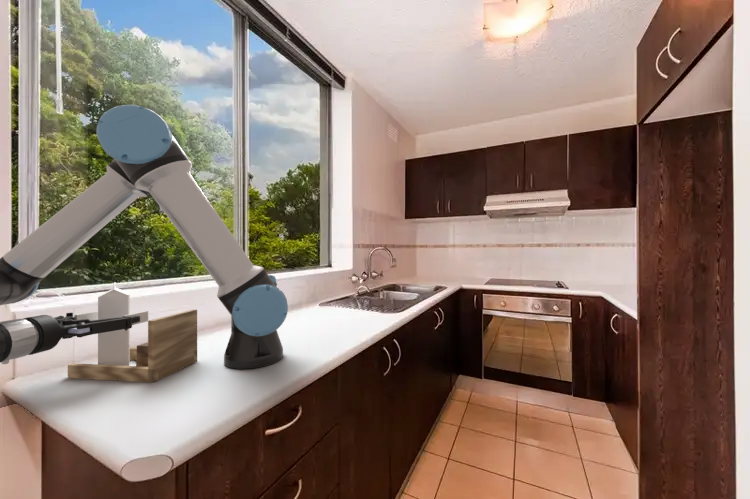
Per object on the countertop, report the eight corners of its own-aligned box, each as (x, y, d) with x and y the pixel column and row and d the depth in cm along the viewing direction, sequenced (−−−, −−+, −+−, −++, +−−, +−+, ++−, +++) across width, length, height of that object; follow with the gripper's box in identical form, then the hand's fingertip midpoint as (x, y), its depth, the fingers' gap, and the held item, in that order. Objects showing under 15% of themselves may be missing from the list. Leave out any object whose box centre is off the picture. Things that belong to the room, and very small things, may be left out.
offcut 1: (173, 349, 80) (173, 339, 80) (152, 356, 74) (152, 346, 74) (158, 348, 81) (158, 339, 81) (136, 356, 75) (136, 345, 75)
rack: (197, 361, 84) (197, 309, 84) (153, 382, 70) (153, 320, 70) (123, 357, 87) (123, 308, 87) (67, 377, 73) (67, 318, 73)
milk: (97, 374, 75) (97, 284, 76) (100, 367, 80) (99, 282, 80) (129, 368, 79) (128, 282, 79) (130, 361, 84) (129, 281, 84)
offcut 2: (175, 357, 81) (175, 347, 81) (156, 367, 74) (156, 356, 74) (156, 357, 81) (156, 348, 81) (136, 367, 74) (136, 357, 74)
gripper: (-27, 353, 63) (83, 328, 84) (78, 358, 60) (166, 330, 81) (-27, 317, 63) (83, 301, 84) (78, 319, 60) (166, 302, 81)
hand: (124, 315), depth 83 cm, fingers open, 13 cm apart
